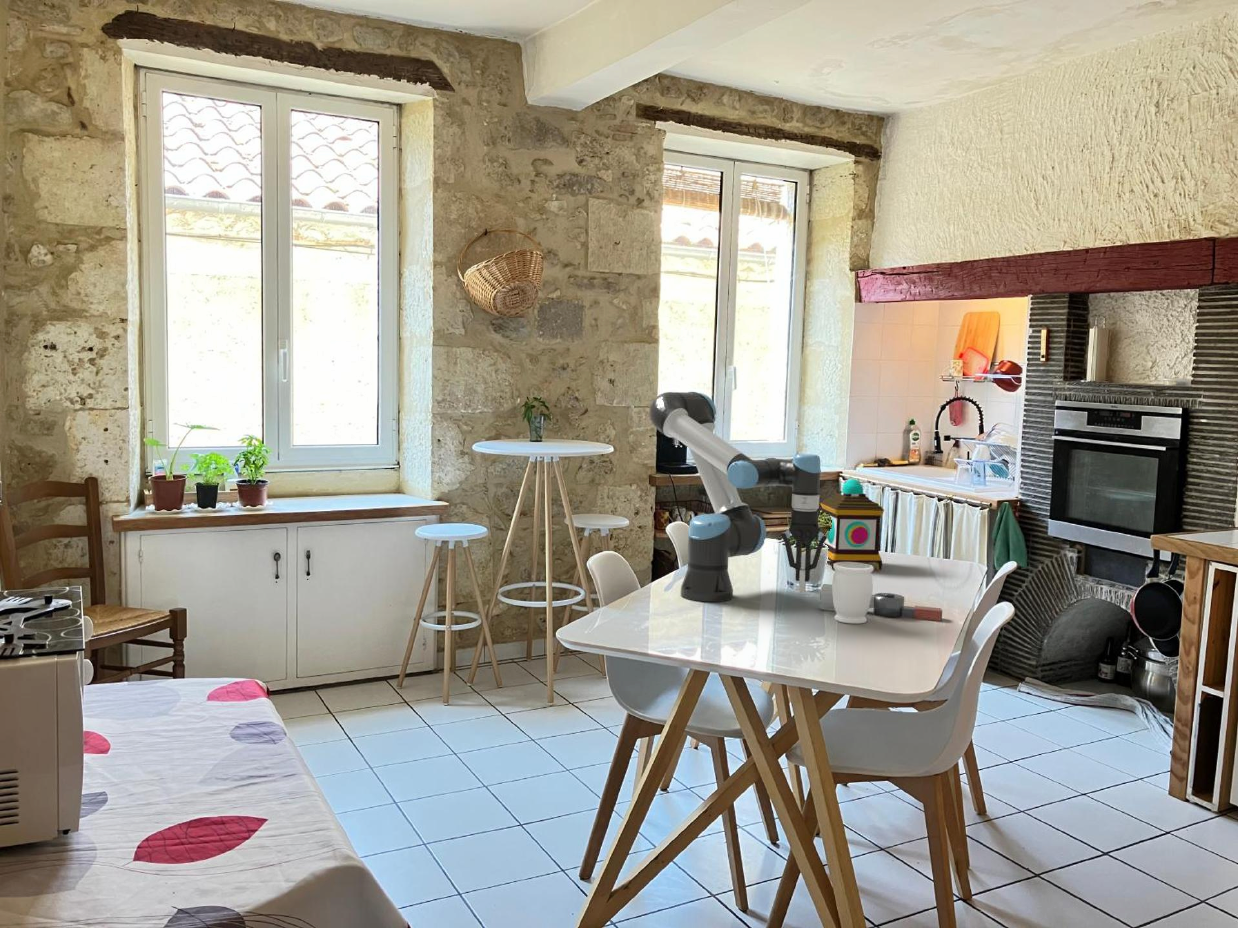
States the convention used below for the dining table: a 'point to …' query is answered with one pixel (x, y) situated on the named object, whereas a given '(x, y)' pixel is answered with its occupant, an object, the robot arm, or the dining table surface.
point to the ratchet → (901, 608)
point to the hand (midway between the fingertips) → (802, 592)
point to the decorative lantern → (853, 526)
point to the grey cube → (826, 598)
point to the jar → (852, 591)
